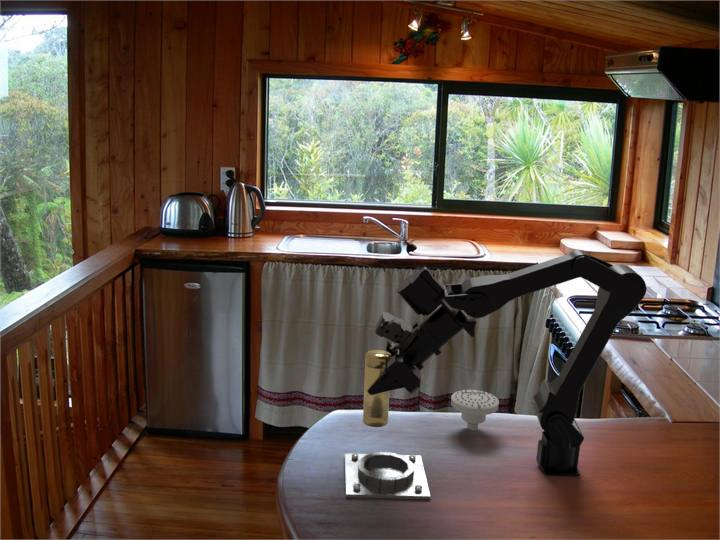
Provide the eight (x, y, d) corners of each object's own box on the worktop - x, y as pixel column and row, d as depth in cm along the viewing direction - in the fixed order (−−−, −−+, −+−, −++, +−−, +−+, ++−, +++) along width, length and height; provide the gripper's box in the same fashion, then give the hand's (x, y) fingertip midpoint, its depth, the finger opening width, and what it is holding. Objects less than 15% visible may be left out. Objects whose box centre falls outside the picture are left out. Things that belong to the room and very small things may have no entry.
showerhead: (456, 404, 147) (448, 384, 157) (453, 439, 149) (446, 416, 159) (504, 406, 148) (494, 385, 157) (501, 440, 149) (491, 418, 159)
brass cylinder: (385, 415, 142) (389, 349, 139) (389, 426, 138) (393, 359, 135) (361, 416, 142) (364, 350, 138) (364, 427, 137) (367, 359, 134)
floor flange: (420, 458, 141) (421, 447, 140) (430, 499, 127) (430, 487, 127) (344, 456, 140) (345, 445, 140) (346, 497, 127) (346, 485, 126)
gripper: (403, 286, 143) (342, 338, 146) (403, 316, 125) (334, 376, 128) (443, 328, 144) (382, 379, 148) (449, 364, 126) (379, 422, 130)
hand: (369, 387), depth 138 cm, fingers closed on brass cylinder, 5 cm apart
